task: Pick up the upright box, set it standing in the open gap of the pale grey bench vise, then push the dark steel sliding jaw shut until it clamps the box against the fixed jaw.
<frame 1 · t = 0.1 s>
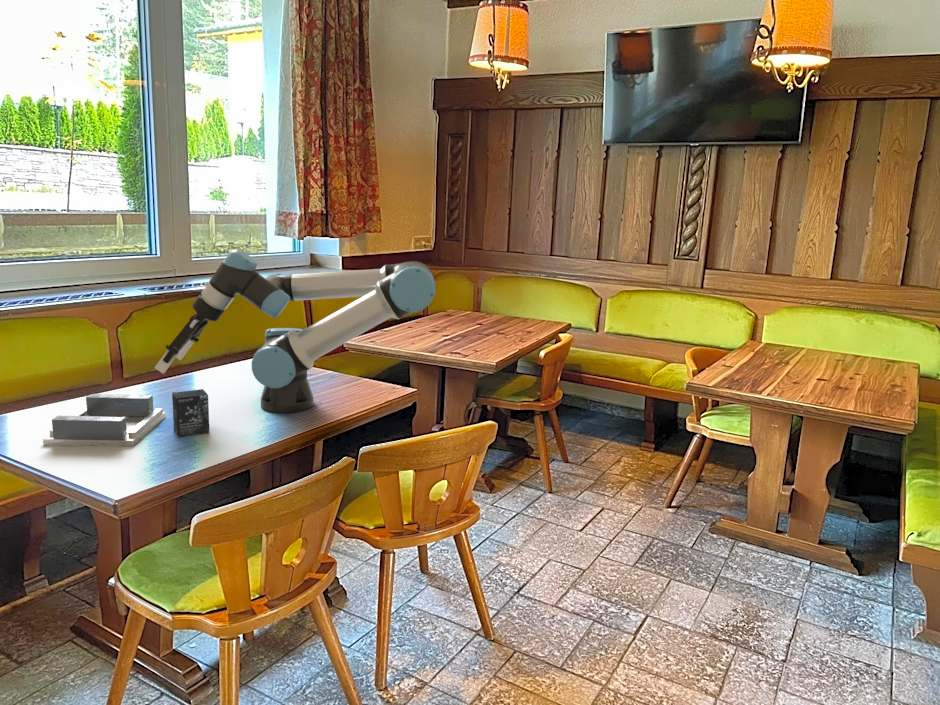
hand: (168, 363, 188), 15 cm above the table, tool tilted 35°, fingers open, 13 cm apart
vise: (108, 430, 181), on the table
box: (191, 432, 182), on the table
sliding jaw: (120, 405, 187), point 4 cm above the table, slide at 0.0 cm
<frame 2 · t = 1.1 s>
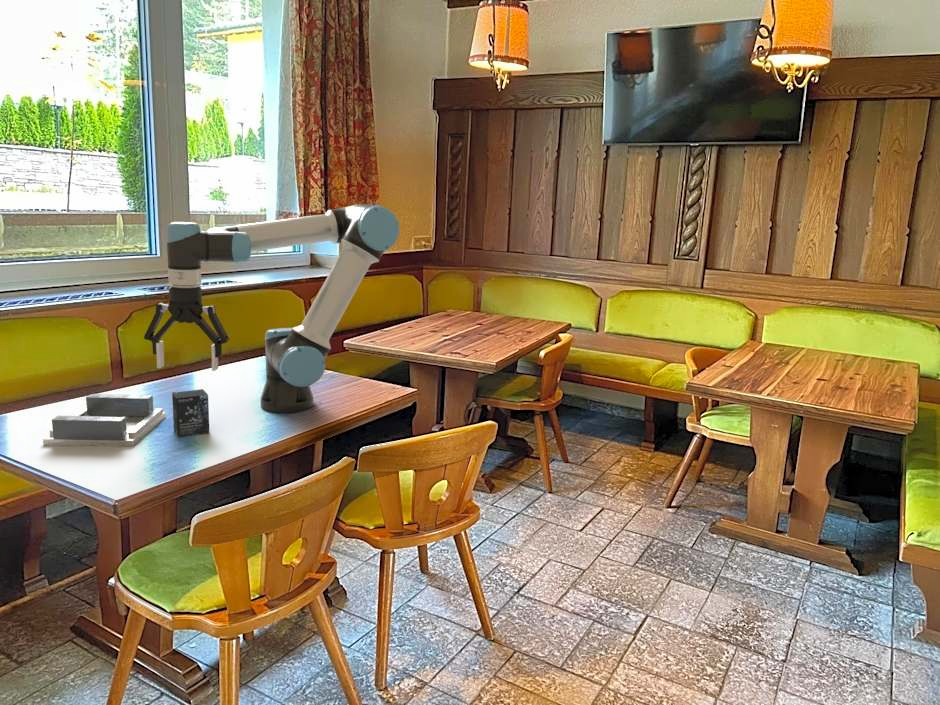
hand: (187, 368, 179), 17 cm above the table, tool pointing down, fingers open, 13 cm apart
nothing on the table moved.
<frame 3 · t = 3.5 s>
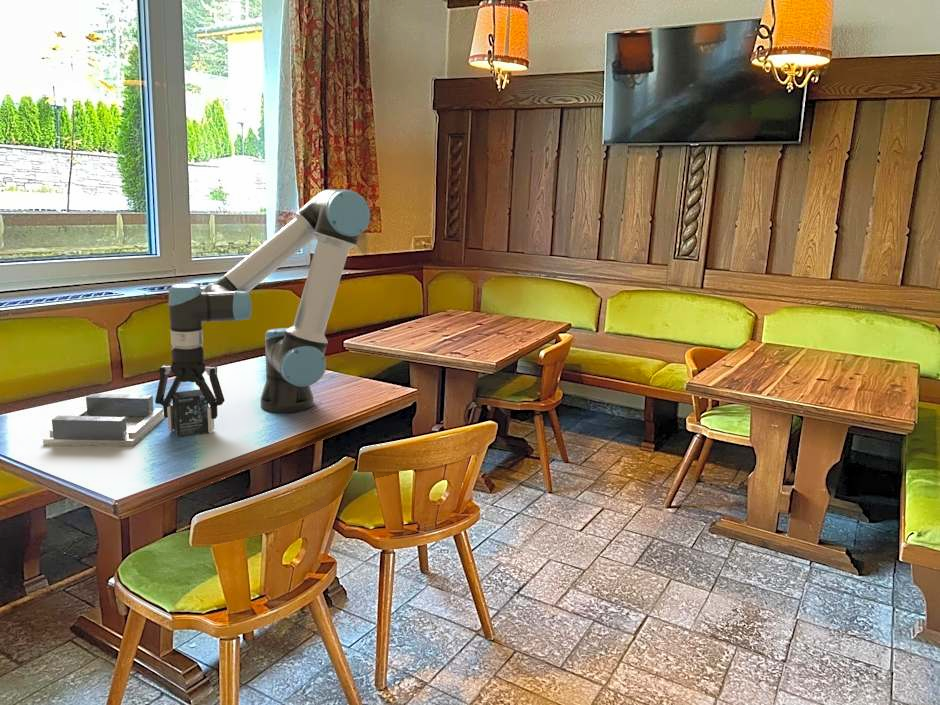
hand: (191, 429, 182), 1 cm above the table, tool pointing down, fingers closed on box, 9 cm apart
box: (191, 432, 182), on the table, touching gripper
everything else where it was.
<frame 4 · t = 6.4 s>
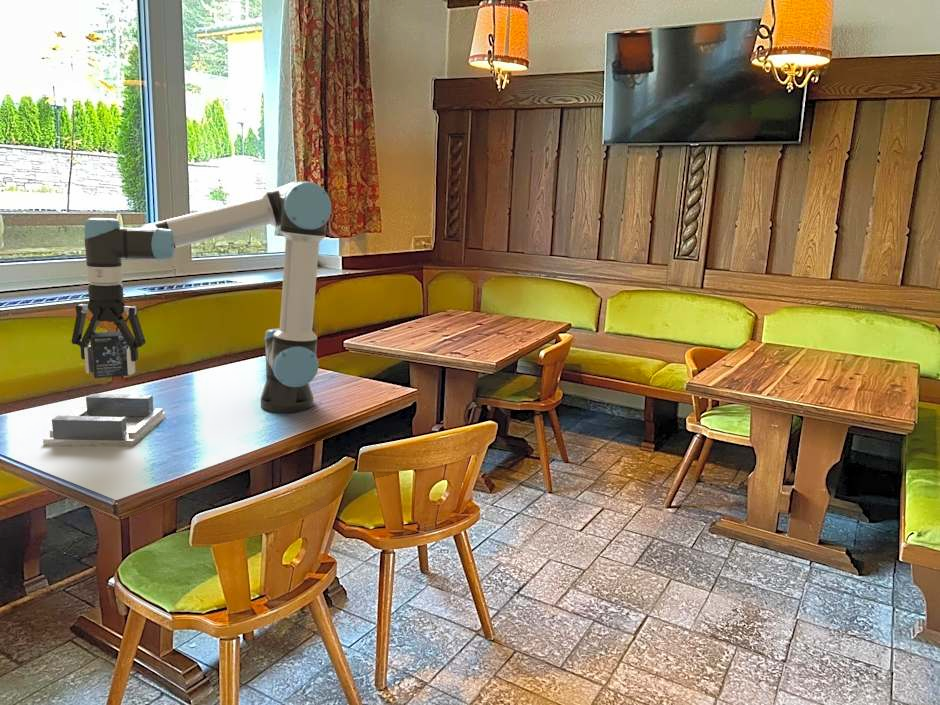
hand: (110, 372, 174), 16 cm above the table, tool pointing down, fingers closed on box, 9 cm apart
box: (111, 375, 175), point 15 cm above the table, touching gripper
everything else where it was.
when the fingers open (3 cm above the table, at t = 9.5 s): box drops 1 cm, resting on vise.
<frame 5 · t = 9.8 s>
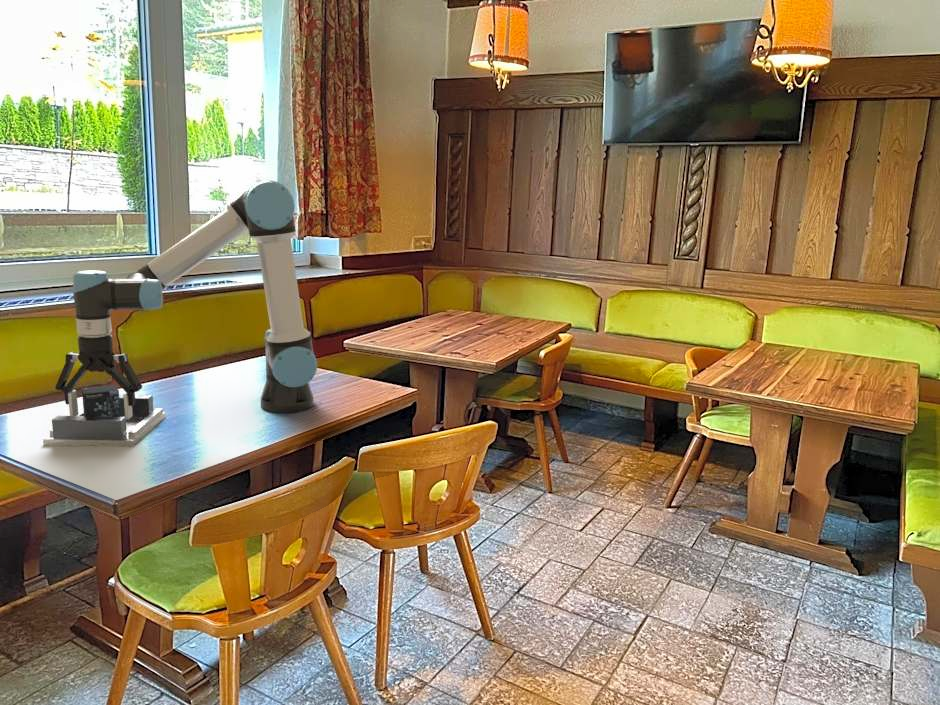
hand: (101, 417, 177), 5 cm above the table, tool pointing down, fingers open, 13 cm apart
box: (103, 429, 177), point 1 cm above the table, touching vise
everything else where it was.
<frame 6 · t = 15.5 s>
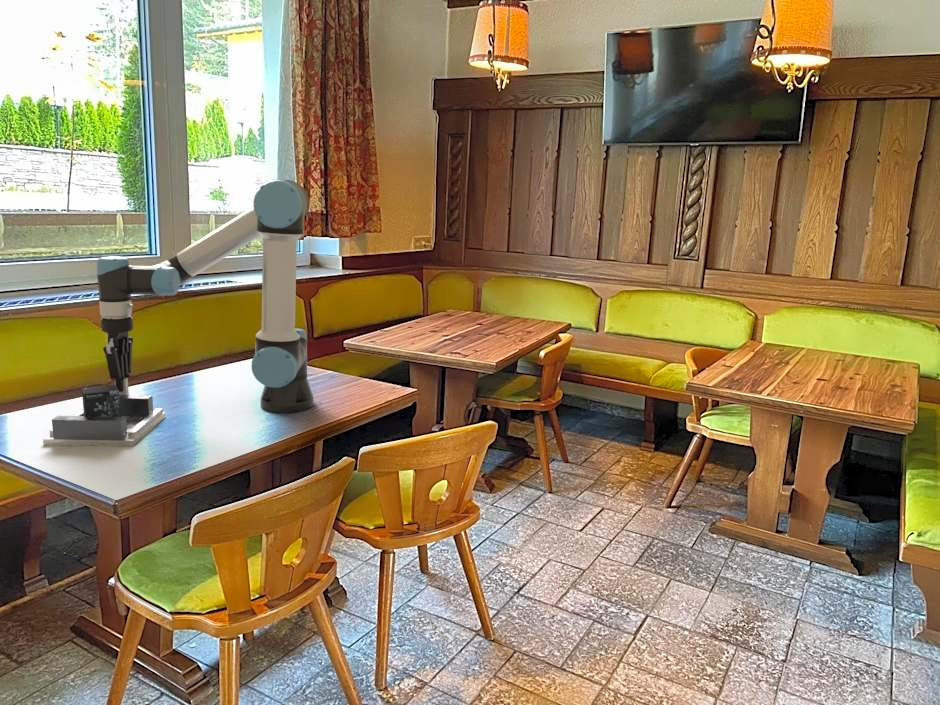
hand: (122, 401, 189), 4 cm above the table, tool pointing down, fingers closed
sliding jaw: (119, 405, 187), point 4 cm above the table, slide at 0.2 cm, touching gripper
everything else where it was.
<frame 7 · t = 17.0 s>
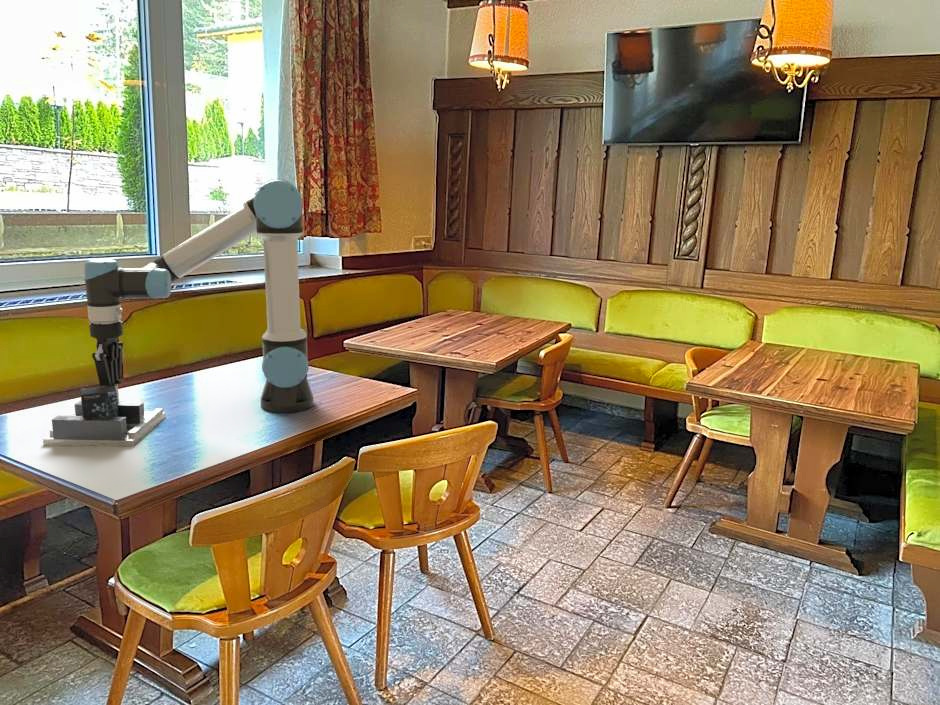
hand: (113, 408, 183), 4 cm above the table, tool pointing down, fingers closed
box: (101, 430, 177), point 1 cm above the table, touching sliding jaw, vise
sliding jaw: (110, 412, 181), point 4 cm above the table, slide at 6.2 cm, touching box, gripper
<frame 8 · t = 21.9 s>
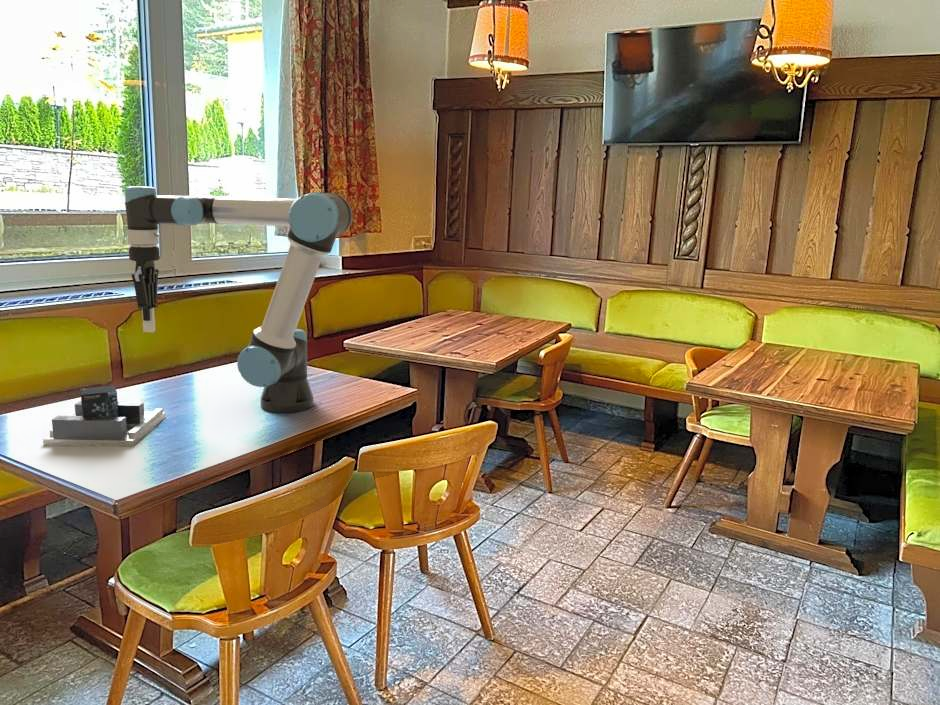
hand: (149, 331, 193), 22 cm above the table, tool pointing down, fingers closed
box: (101, 430, 177), point 1 cm above the table, touching vise
sliding jaw: (110, 412, 181), point 4 cm above the table, slide at 6.2 cm
at the end: box 0.1 cm from the target spot on the vise, point 1.3 cm above the vise's base; box tilted 0°; sliding jaw slide at 6.2 cm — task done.
